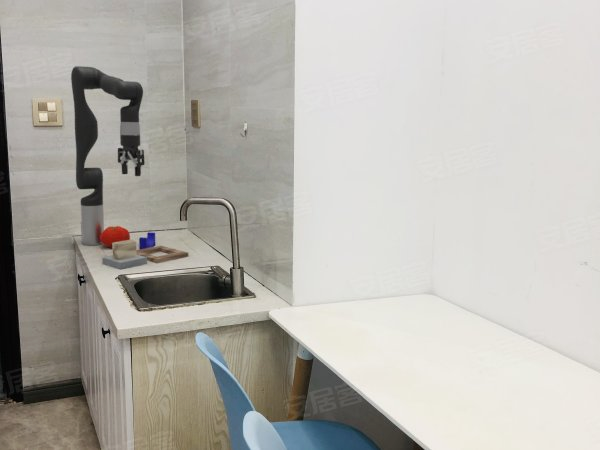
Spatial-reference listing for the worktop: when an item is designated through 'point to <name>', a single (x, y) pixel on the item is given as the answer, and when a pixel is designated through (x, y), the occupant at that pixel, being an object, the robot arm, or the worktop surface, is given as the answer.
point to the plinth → (124, 261)
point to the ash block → (124, 249)
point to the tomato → (114, 235)
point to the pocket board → (170, 256)
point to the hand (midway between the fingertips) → (131, 175)
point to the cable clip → (147, 241)
